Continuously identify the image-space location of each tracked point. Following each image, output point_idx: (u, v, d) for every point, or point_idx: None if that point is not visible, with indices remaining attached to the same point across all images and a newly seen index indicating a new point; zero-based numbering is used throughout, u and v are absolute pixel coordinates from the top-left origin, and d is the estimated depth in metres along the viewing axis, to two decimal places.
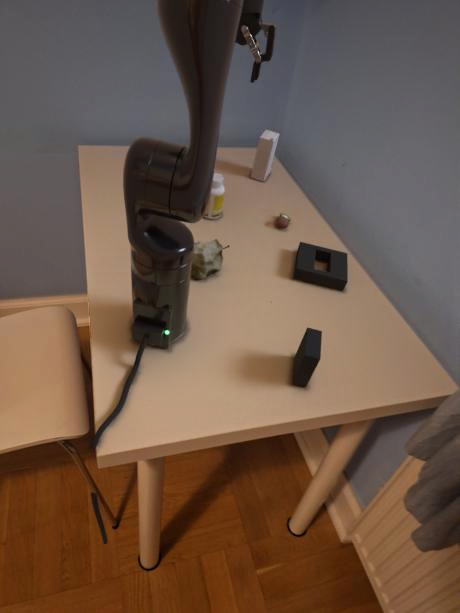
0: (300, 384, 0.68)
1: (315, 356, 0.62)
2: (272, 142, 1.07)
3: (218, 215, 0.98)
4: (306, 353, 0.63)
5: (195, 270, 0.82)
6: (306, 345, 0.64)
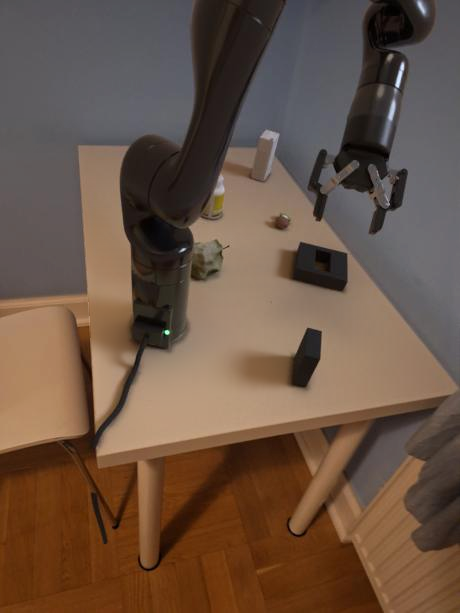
0: (300, 384, 0.68)
1: (315, 356, 0.62)
2: (272, 142, 1.07)
3: (218, 215, 0.98)
4: (306, 353, 0.63)
5: (195, 270, 0.82)
6: (306, 345, 0.64)
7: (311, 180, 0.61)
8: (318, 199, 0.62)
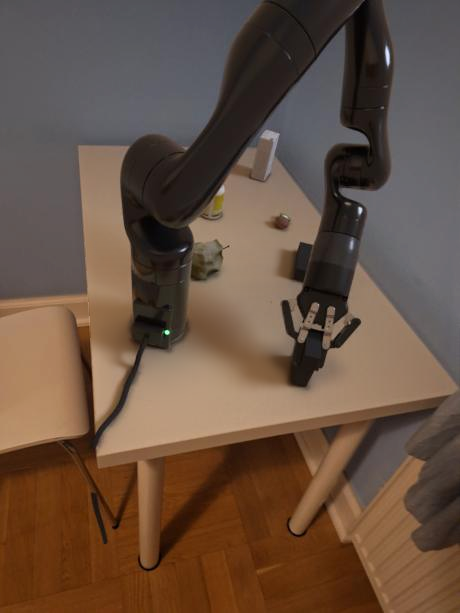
0: (300, 384, 0.68)
1: (315, 356, 0.62)
2: (272, 142, 1.07)
3: (218, 215, 0.98)
4: (306, 353, 0.63)
5: (195, 270, 0.82)
6: (306, 345, 0.64)
7: (288, 331, 0.65)
8: (296, 347, 0.65)
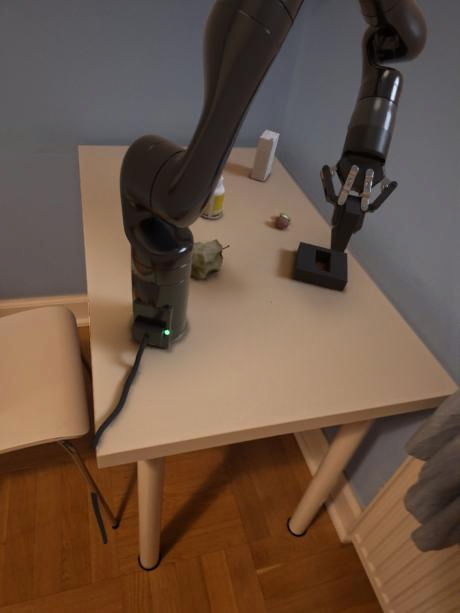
0: (338, 249, 0.72)
1: (355, 213, 0.67)
2: (272, 142, 1.07)
3: (218, 215, 0.98)
4: (347, 210, 0.67)
5: (195, 270, 0.82)
6: (346, 205, 0.68)
7: (329, 194, 0.69)
8: (336, 210, 0.69)
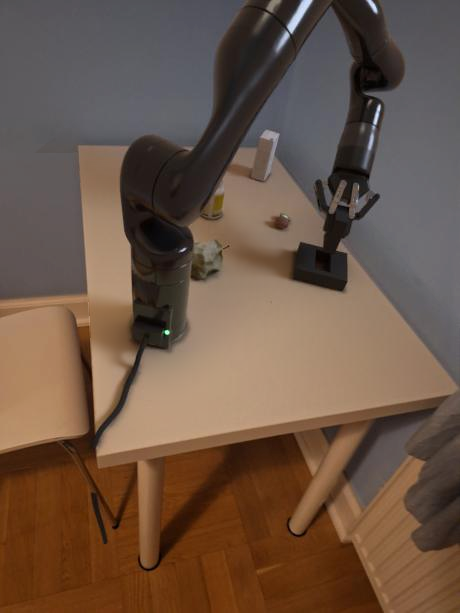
0: (330, 252, 0.83)
1: (344, 221, 0.78)
2: (272, 142, 1.07)
3: (218, 215, 0.98)
4: (336, 218, 0.78)
5: (195, 270, 0.82)
6: (336, 214, 0.79)
7: (321, 204, 0.80)
8: (327, 218, 0.81)
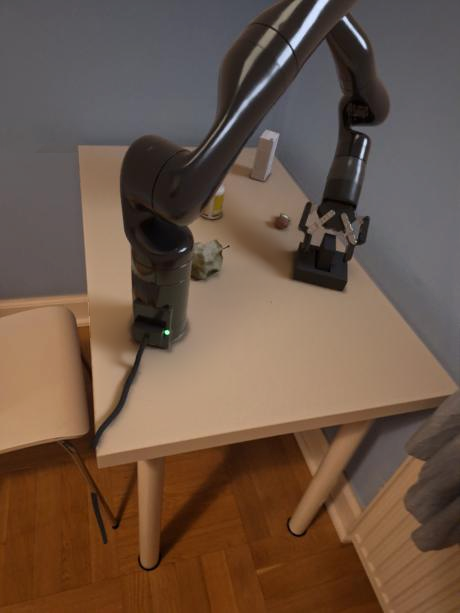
0: None
1: (332, 249, 0.83)
2: (272, 142, 1.07)
3: (218, 215, 0.98)
4: (325, 247, 0.83)
5: (195, 270, 0.82)
6: (324, 243, 0.84)
7: (300, 224, 0.85)
8: (305, 237, 0.85)
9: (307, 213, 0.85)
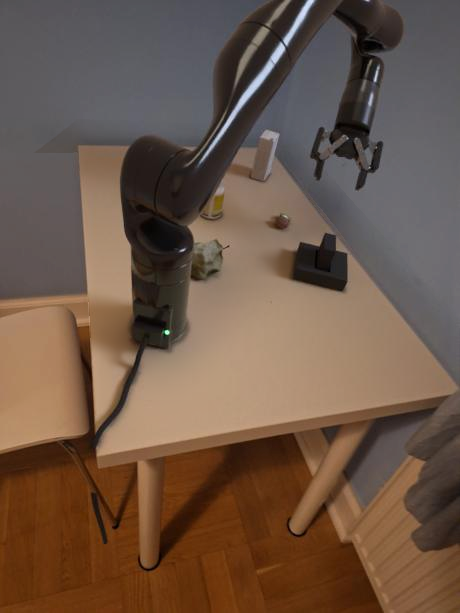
0: None
1: (332, 249, 0.83)
2: (272, 142, 1.07)
3: (218, 215, 0.98)
4: (325, 247, 0.83)
5: (195, 270, 0.82)
6: (325, 243, 0.84)
7: (313, 149, 0.84)
8: (318, 163, 0.85)
9: (319, 139, 0.84)
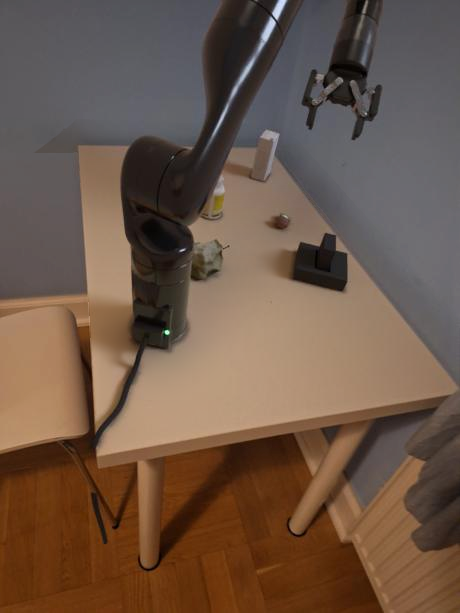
0: None
1: (332, 249, 0.83)
2: (272, 142, 1.07)
3: (218, 215, 0.98)
4: (325, 247, 0.83)
5: (195, 270, 0.82)
6: (325, 243, 0.84)
7: (304, 94, 0.76)
8: (310, 110, 0.77)
9: (312, 82, 0.76)
